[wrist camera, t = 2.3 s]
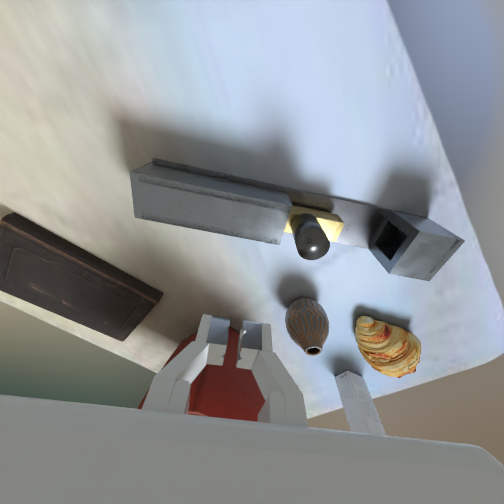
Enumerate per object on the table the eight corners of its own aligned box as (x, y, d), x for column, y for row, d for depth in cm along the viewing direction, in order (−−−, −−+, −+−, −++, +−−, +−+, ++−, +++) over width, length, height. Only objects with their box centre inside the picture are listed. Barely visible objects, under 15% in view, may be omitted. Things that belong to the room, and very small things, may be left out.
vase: (288, 289, 36) (296, 334, 28) (327, 294, 36) (345, 340, 29) (279, 315, 40) (284, 361, 32) (314, 320, 40) (327, 366, 33)
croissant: (337, 305, 43) (331, 344, 38) (391, 300, 35) (392, 348, 31) (386, 351, 50) (386, 388, 46) (440, 355, 43) (446, 400, 38)
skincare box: (333, 376, 51) (352, 440, 41) (347, 369, 49) (370, 434, 39) (350, 384, 53) (371, 446, 43) (364, 377, 51) (390, 441, 41)
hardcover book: (128, 332, 44) (122, 342, 42) (1, 275, 36) (-14, 284, 34) (164, 290, 37) (159, 300, 36) (17, 210, 29) (1, 217, 28)
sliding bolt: (163, 201, 26) (135, 227, 20) (163, 175, 25) (131, 195, 19) (328, 233, 29) (348, 267, 22) (338, 212, 27) (363, 242, 21)
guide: (153, 205, 28) (130, 225, 23) (150, 157, 25) (123, 168, 20) (401, 254, 31) (429, 281, 26) (428, 218, 28) (465, 240, 23)
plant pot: (283, 346, 45) (295, 452, 31) (225, 376, 53) (213, 472, 38) (215, 300, 38) (190, 411, 24) (158, 343, 45) (114, 446, 31)
